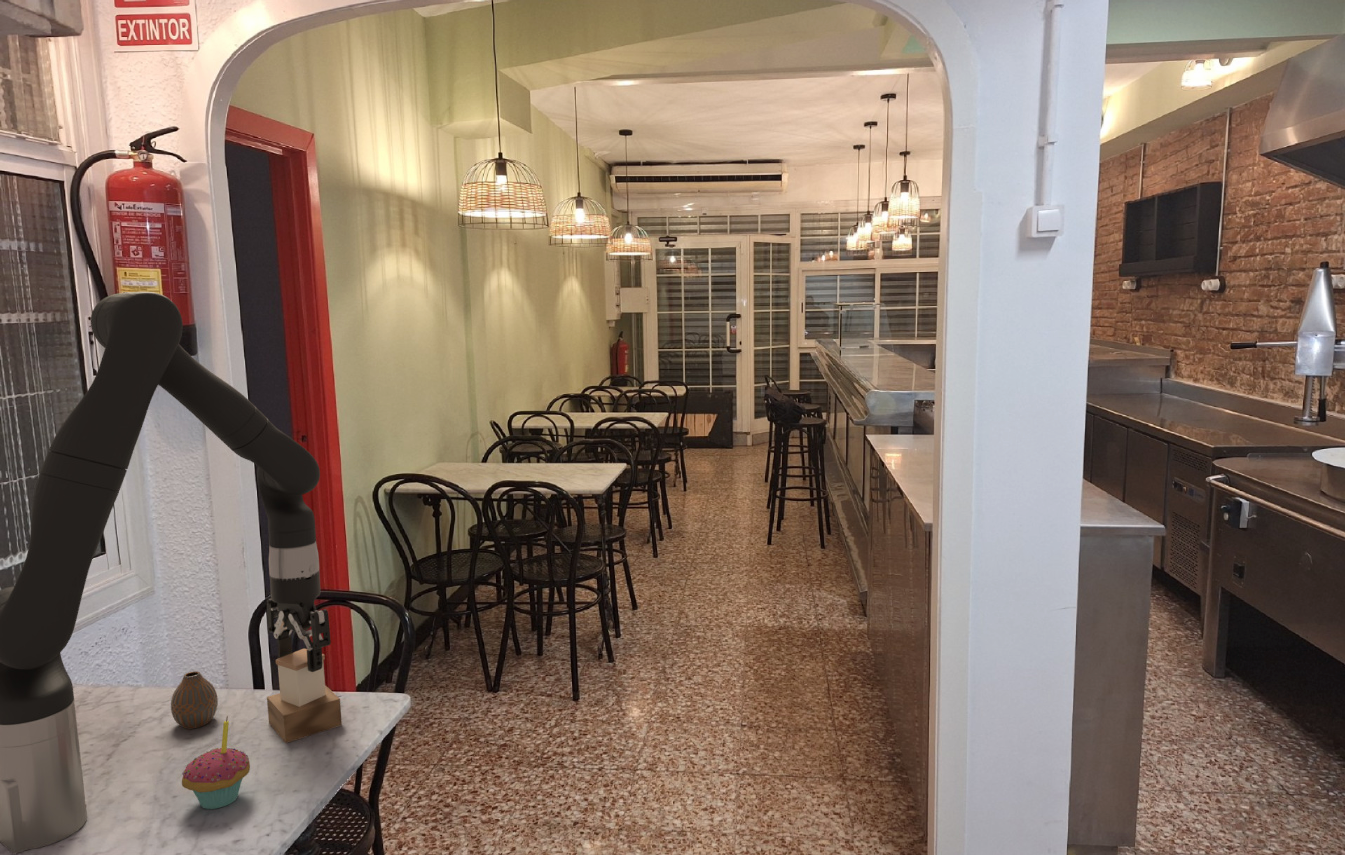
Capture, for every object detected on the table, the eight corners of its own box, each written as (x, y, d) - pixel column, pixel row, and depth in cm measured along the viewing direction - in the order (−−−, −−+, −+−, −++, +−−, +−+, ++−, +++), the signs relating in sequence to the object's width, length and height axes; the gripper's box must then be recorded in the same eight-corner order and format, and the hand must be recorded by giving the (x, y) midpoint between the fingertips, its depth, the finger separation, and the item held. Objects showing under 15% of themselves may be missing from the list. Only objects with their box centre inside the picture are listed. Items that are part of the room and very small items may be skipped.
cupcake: (236, 777, 128) (230, 701, 127) (263, 797, 123) (257, 718, 121) (174, 803, 122) (167, 723, 120) (200, 825, 117) (192, 742, 115)
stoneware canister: (299, 707, 141) (296, 666, 140) (278, 700, 144) (275, 659, 143) (327, 694, 145) (324, 654, 144) (307, 687, 148) (304, 648, 147)
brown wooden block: (285, 744, 139) (283, 715, 138) (269, 724, 145) (266, 696, 145) (341, 726, 145) (339, 698, 144) (323, 708, 151) (321, 681, 151)
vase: (227, 714, 149) (223, 666, 148) (202, 733, 142) (198, 683, 141) (190, 713, 150) (186, 665, 148) (163, 732, 143) (158, 682, 142)
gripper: (248, 568, 142) (254, 662, 144) (298, 583, 134) (304, 682, 136) (290, 558, 148) (296, 648, 150) (341, 571, 140) (346, 666, 142)
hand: (300, 664), depth 143 cm, fingers open, 8 cm apart
